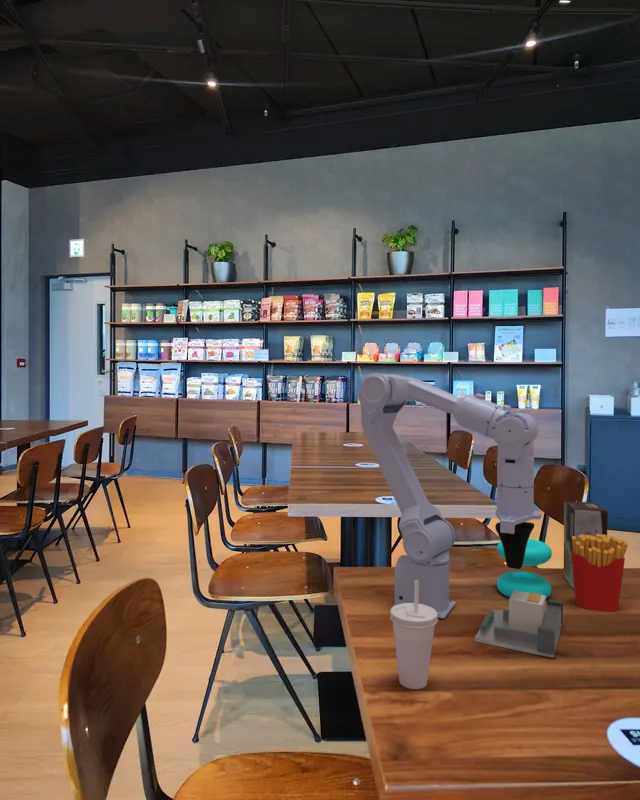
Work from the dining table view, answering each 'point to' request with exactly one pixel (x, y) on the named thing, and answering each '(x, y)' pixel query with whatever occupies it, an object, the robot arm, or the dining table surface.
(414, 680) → the smoothie
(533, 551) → the donuts
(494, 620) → the rail
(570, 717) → the dining table surface
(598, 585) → the french fries
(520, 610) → the block
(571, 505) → the coffee box
